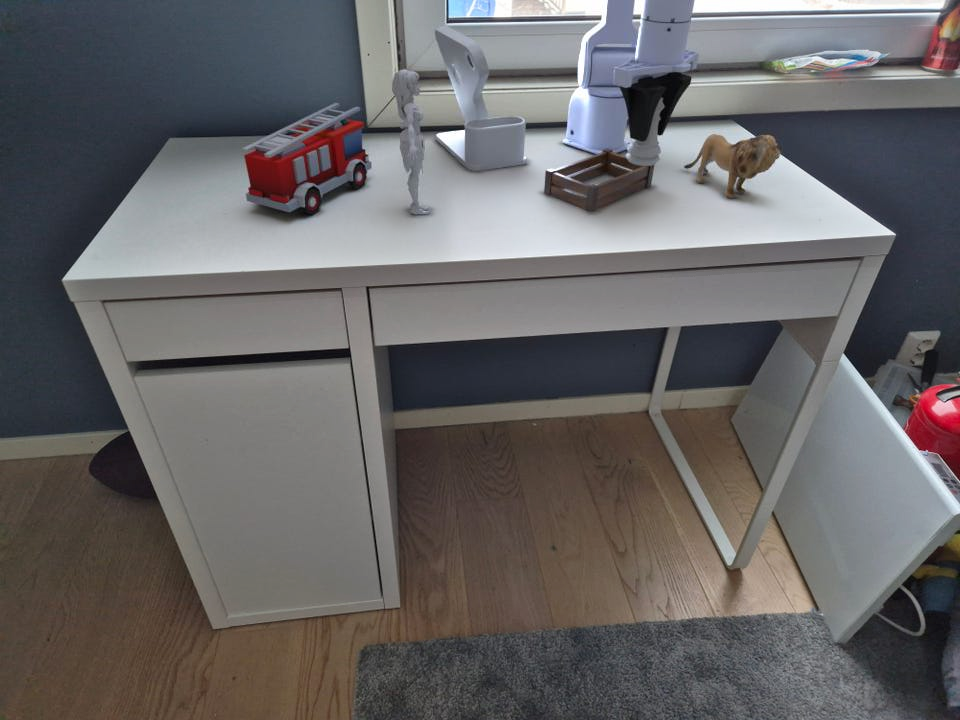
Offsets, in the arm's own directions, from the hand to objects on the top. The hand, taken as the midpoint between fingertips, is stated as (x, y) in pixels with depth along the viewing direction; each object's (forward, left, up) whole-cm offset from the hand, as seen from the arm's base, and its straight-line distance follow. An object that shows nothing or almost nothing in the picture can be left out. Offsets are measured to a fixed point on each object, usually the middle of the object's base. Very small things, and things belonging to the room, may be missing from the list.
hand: (646, 136), depth 84 cm
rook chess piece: (0, 0, -3) cm, 3 cm away
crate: (-8, +2, -10) cm, 13 cm away
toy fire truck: (-33, -30, -10) cm, 46 cm away
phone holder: (-31, 0, -10) cm, 33 cm away
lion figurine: (+4, +17, -10) cm, 20 cm away
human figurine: (-19, -23, -10) cm, 32 cm away
